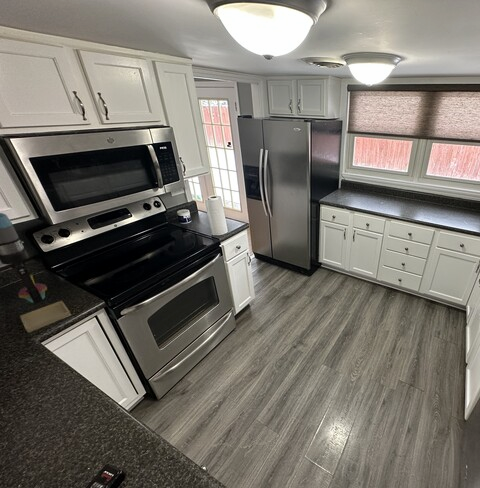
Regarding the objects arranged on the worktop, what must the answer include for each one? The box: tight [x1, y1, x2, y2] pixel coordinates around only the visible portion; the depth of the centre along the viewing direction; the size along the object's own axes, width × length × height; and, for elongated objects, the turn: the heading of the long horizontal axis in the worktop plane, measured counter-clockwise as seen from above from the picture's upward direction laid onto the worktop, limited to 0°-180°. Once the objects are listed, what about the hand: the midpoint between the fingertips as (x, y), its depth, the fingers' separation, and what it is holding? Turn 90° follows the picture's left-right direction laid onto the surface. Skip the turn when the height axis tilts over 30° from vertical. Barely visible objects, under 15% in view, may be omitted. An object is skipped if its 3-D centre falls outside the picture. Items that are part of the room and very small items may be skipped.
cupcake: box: [17, 274, 48, 303], centre depth 112 cm, size 9×8×12 cm
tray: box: [19, 300, 72, 334], centre depth 119 cm, size 13×14×2 cm
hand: (36, 297), depth 114 cm, fingers closed on cupcake, 8 cm apart
